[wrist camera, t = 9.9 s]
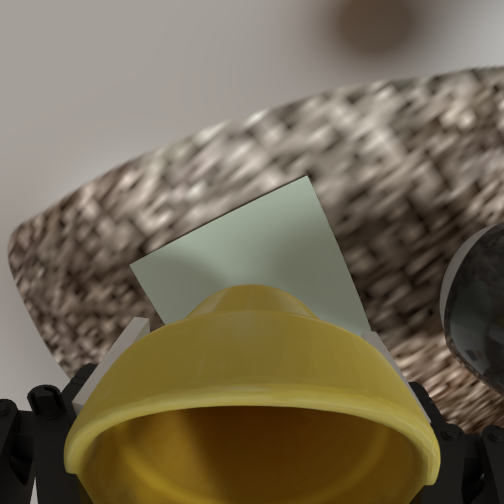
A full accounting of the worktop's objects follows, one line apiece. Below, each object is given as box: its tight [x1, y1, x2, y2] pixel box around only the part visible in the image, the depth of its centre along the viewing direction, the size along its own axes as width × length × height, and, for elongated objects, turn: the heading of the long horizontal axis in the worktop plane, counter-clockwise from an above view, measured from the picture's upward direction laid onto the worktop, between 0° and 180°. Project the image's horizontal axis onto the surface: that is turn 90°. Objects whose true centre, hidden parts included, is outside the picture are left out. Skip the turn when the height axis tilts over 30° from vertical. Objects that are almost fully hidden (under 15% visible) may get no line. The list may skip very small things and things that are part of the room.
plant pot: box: [64, 284, 440, 504], centre depth 11 cm, size 10×10×10 cm
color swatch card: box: [130, 176, 372, 337], centre depth 21 cm, size 26×12×1 cm, turn 26°
